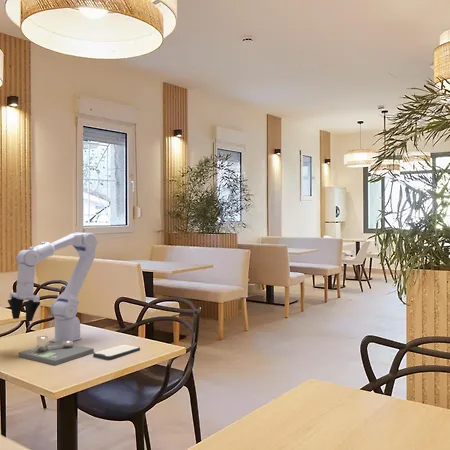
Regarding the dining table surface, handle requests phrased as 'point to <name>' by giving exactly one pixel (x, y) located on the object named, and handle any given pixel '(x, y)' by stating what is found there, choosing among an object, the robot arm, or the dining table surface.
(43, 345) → the lever
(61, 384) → the dining table surface
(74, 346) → the dial board
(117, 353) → the phone case
